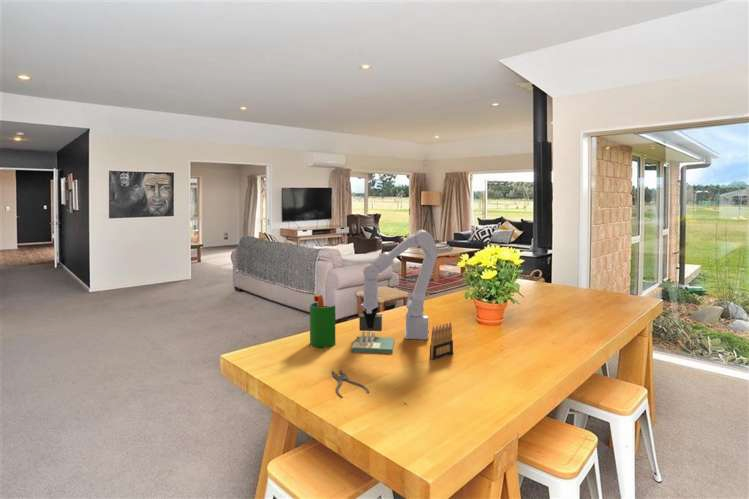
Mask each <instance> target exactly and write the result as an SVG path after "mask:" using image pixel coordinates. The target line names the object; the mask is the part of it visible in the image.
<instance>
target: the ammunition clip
mask: <svg viewBox="0 0 749 499" xmlns="http://www.w3.org/2000/svg"><path fill="white" fill-rule="evenodd" d="M452 328H453V326H452V323H451V321H449V323H448V322H446V323H443V324H442V325H441V324H439V326H438V325H436V326H432V329H431V330H432V331H431V337H430V345H429V359H430V360H432V361H435V360H438V359H440V358H444V357H447V356H451V355H453V354H454V340H453V330H452Z"/></svg>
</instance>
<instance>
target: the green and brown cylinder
mask: <svg viewBox="0 0 749 499" xmlns="http://www.w3.org/2000/svg"><path fill="white" fill-rule="evenodd" d="M313 301H314V302H312V303H310V304H309V344H310V346H312V347H314V348H319V349H320V348H330V347H333V346H335V345H336V304H335V305H330V306H328V305H325V303H324V297H323V295H320V294H315V295H314V298H313Z"/></svg>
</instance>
